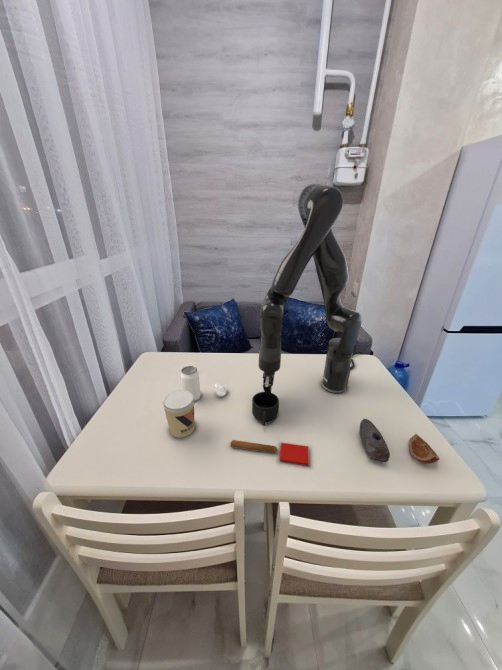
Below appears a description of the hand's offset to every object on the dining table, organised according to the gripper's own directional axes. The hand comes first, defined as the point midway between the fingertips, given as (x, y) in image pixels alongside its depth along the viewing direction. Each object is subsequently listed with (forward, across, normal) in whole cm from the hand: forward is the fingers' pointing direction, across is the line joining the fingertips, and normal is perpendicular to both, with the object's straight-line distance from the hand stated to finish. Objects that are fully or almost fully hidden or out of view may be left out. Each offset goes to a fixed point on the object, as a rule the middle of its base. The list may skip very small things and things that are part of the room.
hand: (267, 396), depth 96 cm
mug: (+3, -9, 0) cm, 9 cm away
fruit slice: (+3, -15, -47) cm, 50 cm away
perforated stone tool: (+3, -14, -33) cm, 36 cm away
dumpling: (+3, +1, +18) cm, 19 cm away
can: (+3, -3, +29) cm, 29 cm away
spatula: (+2, -22, -2) cm, 22 cm away
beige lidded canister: (+3, -18, +26) cm, 32 cm away
